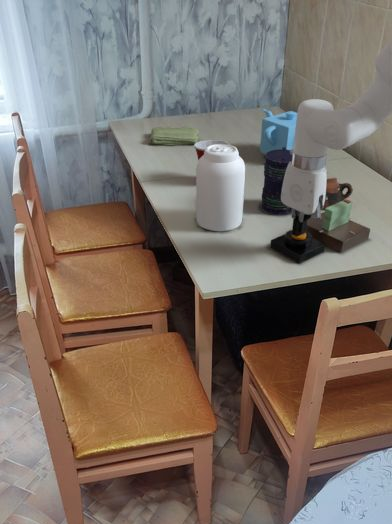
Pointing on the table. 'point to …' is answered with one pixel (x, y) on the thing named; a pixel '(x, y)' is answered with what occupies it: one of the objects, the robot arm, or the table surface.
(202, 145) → the plastic cup
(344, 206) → the pale green flat block
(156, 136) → the washcloth
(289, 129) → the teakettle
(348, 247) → the base
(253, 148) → the table surface
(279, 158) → the storage jar
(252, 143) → the table surface
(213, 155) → the can
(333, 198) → the pottery mug
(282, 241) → the button block
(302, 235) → the button
